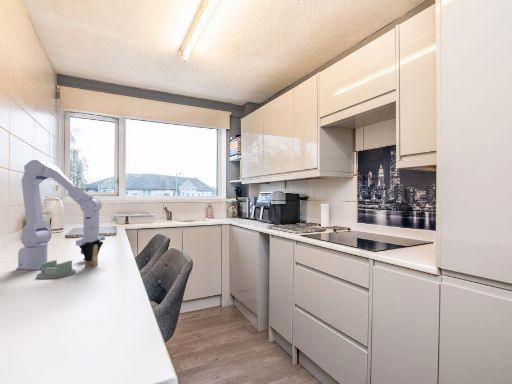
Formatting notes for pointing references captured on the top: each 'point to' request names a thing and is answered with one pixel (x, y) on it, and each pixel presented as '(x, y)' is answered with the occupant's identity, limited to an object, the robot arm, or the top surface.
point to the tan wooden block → (93, 257)
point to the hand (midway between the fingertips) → (91, 259)
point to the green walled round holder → (55, 270)
